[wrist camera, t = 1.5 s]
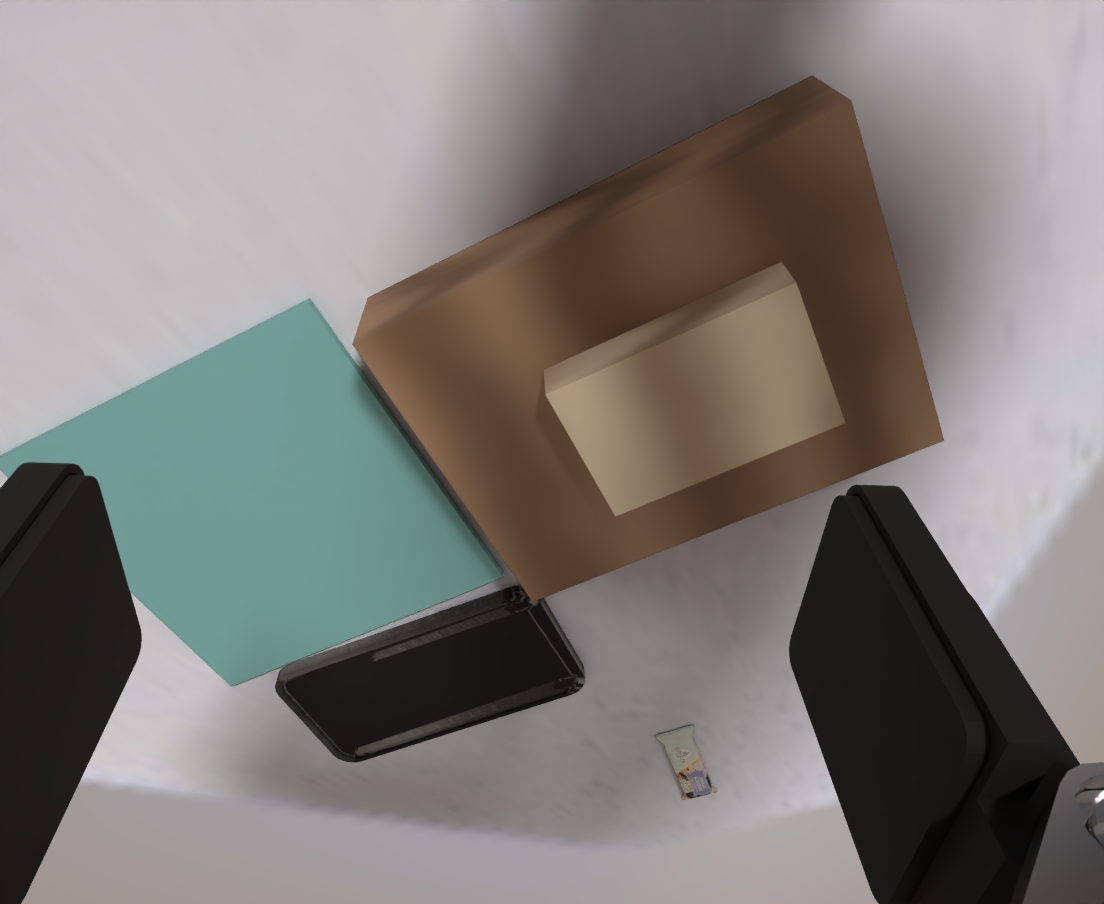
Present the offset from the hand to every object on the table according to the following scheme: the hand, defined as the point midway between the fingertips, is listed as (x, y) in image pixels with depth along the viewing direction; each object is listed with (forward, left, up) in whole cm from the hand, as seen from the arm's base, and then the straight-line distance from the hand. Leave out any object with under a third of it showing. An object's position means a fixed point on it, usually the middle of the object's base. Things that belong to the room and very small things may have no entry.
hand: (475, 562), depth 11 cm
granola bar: (+7, +37, -23) cm, 44 cm away
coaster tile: (-3, +10, -18) cm, 21 cm away
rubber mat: (+17, +10, -23) cm, 30 cm away
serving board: (-2, +10, -23) cm, 25 cm away
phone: (+16, +23, -23) cm, 36 cm away
